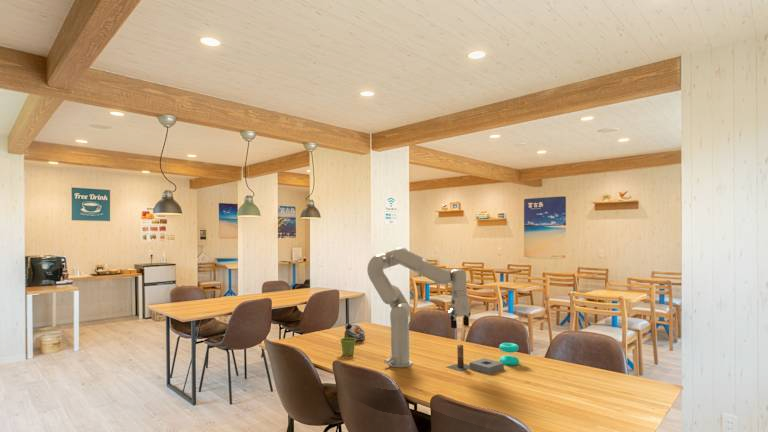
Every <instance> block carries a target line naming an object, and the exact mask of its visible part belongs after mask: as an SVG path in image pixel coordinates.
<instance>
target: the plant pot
mask: <svg viewBox="0 0 768 432" xmlns="http://www.w3.org/2000/svg"><path fill="white" fill-rule="evenodd" d="M339 340H340V343H341V349H342V355H343V356H345V357H350V356H353V355H354V353H355V345H356V341H357V340H356V339H355V338H344V337H342V338H340V339H339Z"/></svg>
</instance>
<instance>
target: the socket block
mask: <svg viewBox="0 0 768 432" xmlns="http://www.w3.org/2000/svg"><path fill="white" fill-rule="evenodd" d="M469 365H470V369H469V370H472V371H475V372H479V373H483V374H487V375H491V374H495V373H497V372H500V371H504V370H505V365H504V363H501V362H500V361H498V360H492V359H488V358H481V359H477V360H474V361H470V362H469Z"/></svg>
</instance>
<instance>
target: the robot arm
mask: <svg viewBox="0 0 768 432" xmlns="http://www.w3.org/2000/svg"><path fill="white" fill-rule="evenodd" d="M399 265H401V266H402V267H403V268H407V269H409V270H411V271H413V272H414V273H417V274H419V275H421V276H423V277H425V278H427V279H429V280H430V281H433V282H434V283H437V284H439V285H447V284H449V283H451V300H450V309H449V310H448V312H447V315H448V318H449V320H450V327H451V329H454V330H455V329H457V325H458V324H457V318H458V317H462V321H463V323H462V325H463V326H466V327H469V326H470V322H469V320H470V319H469V318H470V315H471V312H472V308H471V307H470V302H469V298H468V297H469V296H468V294H467V291H468V290H467V271H466V270H465V269H461V268H459V269H457V268H456V269H450V268H449V269H448V268H440V267H439V266H436V265H434V264H433V263H431V262H429V261H428V260H427V259H426V258H424V257H422V256H420V255H418V254H415V253H414V252H411V251H409V250H408V249H407V248H405V247H403V246H402V247H397V248H394V249H393V250H390V251H386V252H383V253H379V254H375V255H373V256H372V258H370V260H369V261H368V264H367V276H368V278H369V280H370V282H371V283H372V285H373V287H374V289H375V290H376V292H377V294H378V295H379V297H380V299H381V301H382V302H383V303H384V304H386V305H389V307H390V312H389V313H390V314H389V319H390V321H389V322H390V340H391V341H390V344H391V345H390V347H391V350H390V351H391V353H390V354H391V355H390V356H389V358H387V359H384V364H388V366H390V367H392V368H398V369H399V368H402V369H403V368H408V367H411V366H412V365H413V361H412V360H410V323H409V317H410V316H411V314H412V313H411V312H412V308H411V306H410V304H409V302H408V301H407V299H406V298H405V296H404V294H403V292H402V291H401V289H400V287H398V286H396V285H394V284H392V282H391V281H390V280H389V278H388V277H387V275H386V274H385V272H384V270H385V269H389V268H391V267H394V266H399Z"/></svg>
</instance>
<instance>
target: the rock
mask: <svg viewBox="0 0 768 432" xmlns="http://www.w3.org/2000/svg"><path fill="white" fill-rule="evenodd" d="M344 327H345V331H344V337H343V338H355V339H356V341H362V340H363V341H365V338H366V335H365V330H364V329H363V328H362V326H361V325H359V324H357V323H345V325H344Z"/></svg>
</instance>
